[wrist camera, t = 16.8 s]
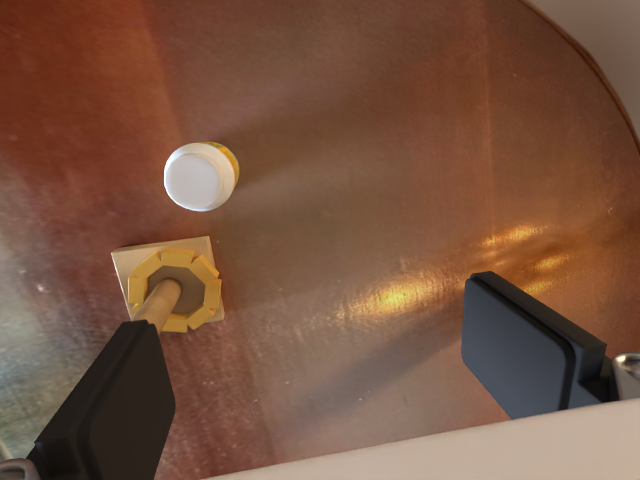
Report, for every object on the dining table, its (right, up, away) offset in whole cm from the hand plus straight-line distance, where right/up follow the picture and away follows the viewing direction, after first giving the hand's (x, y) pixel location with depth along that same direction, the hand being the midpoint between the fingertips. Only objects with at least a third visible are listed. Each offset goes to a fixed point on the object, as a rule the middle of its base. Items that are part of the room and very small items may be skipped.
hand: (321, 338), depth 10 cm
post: (-15, -2, +26) cm, 30 cm away
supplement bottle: (-11, +10, +24) cm, 28 cm away
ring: (-14, -2, +25) cm, 29 cm away
